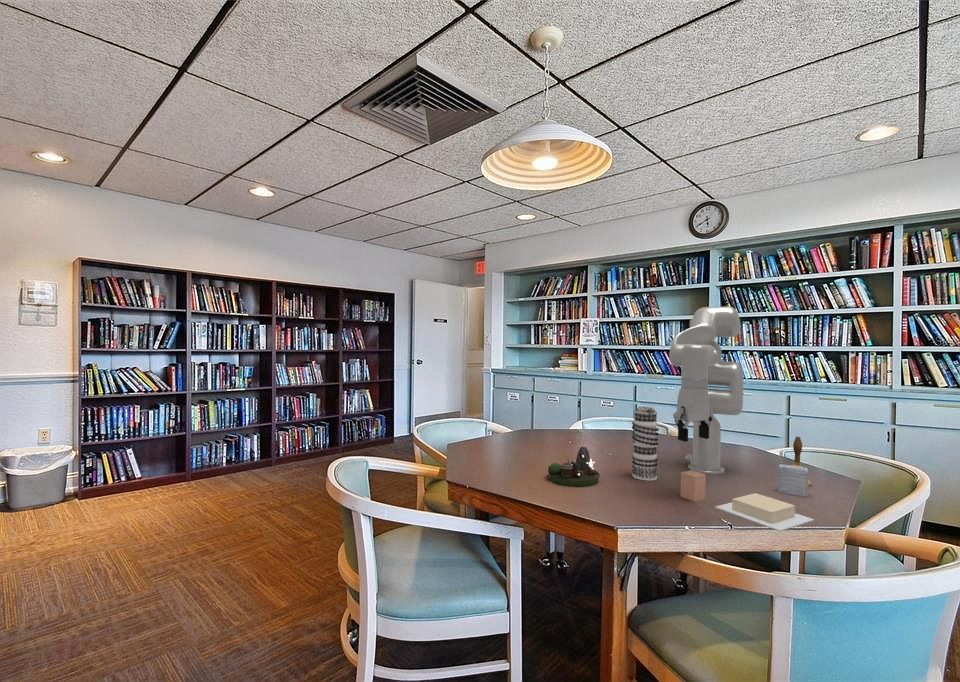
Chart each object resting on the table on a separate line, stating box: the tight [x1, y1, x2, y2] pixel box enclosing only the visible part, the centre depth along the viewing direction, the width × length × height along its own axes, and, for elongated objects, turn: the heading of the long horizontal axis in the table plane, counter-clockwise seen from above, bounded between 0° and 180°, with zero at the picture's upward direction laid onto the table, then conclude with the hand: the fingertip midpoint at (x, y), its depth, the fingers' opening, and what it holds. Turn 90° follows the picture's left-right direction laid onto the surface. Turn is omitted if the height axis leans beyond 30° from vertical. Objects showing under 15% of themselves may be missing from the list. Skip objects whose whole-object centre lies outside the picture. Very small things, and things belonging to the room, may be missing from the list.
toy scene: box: [547, 446, 601, 488], centre depth 158 cm, size 18×18×11 cm
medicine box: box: [777, 463, 809, 498], centre depth 145 cm, size 8×4×9 cm, turn 56°
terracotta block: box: [679, 469, 707, 502], centre depth 140 cm, size 5×5×8 cm
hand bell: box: [790, 436, 812, 487], centre depth 157 cm, size 8×8×16 cm
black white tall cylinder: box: [631, 406, 660, 481], centre depth 161 cm, size 9×9×25 cm
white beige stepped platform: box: [714, 492, 815, 532], centre depth 126 cm, size 18×16×4 cm
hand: (693, 439), depth 139 cm, fingers open, 9 cm apart
